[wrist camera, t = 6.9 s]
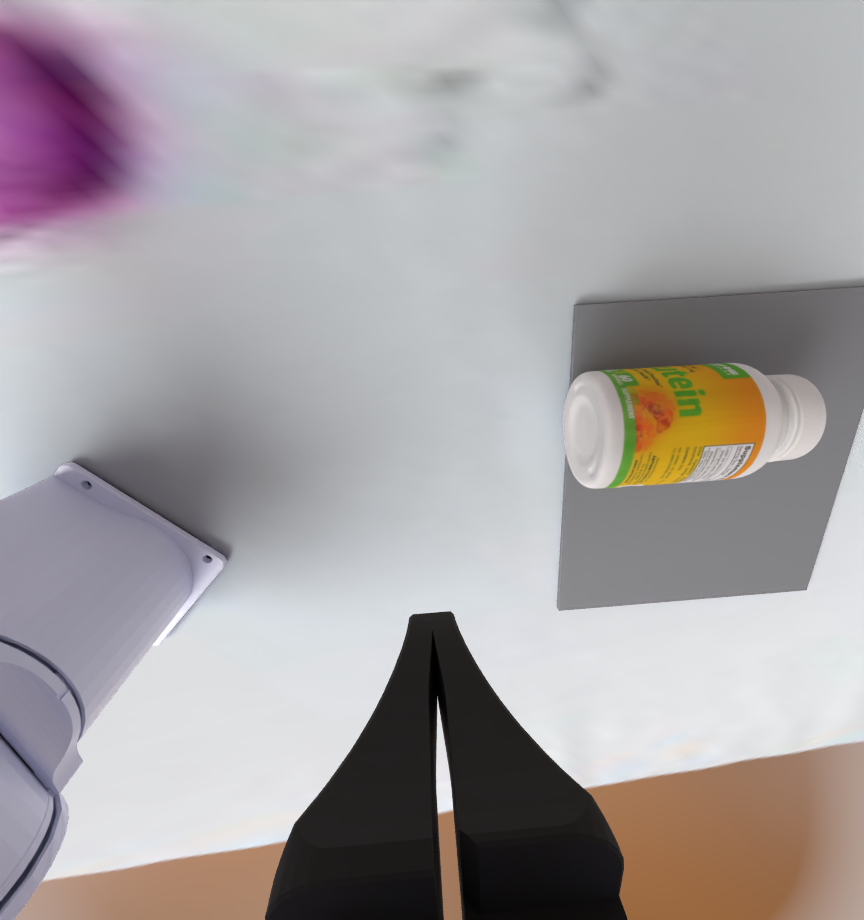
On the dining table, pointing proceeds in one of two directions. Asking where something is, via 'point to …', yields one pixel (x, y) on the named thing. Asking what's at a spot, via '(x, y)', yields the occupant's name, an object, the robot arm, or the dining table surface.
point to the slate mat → (722, 501)
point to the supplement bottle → (686, 423)
